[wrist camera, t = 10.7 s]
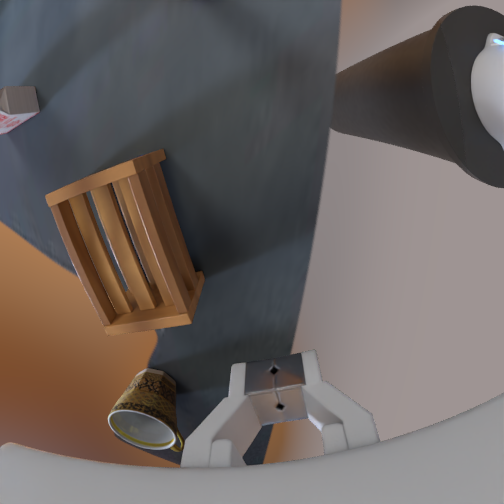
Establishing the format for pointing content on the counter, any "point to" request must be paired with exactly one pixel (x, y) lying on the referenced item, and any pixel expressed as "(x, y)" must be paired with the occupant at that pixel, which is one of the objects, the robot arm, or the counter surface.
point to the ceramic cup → (148, 412)
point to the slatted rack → (129, 247)
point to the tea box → (17, 106)
